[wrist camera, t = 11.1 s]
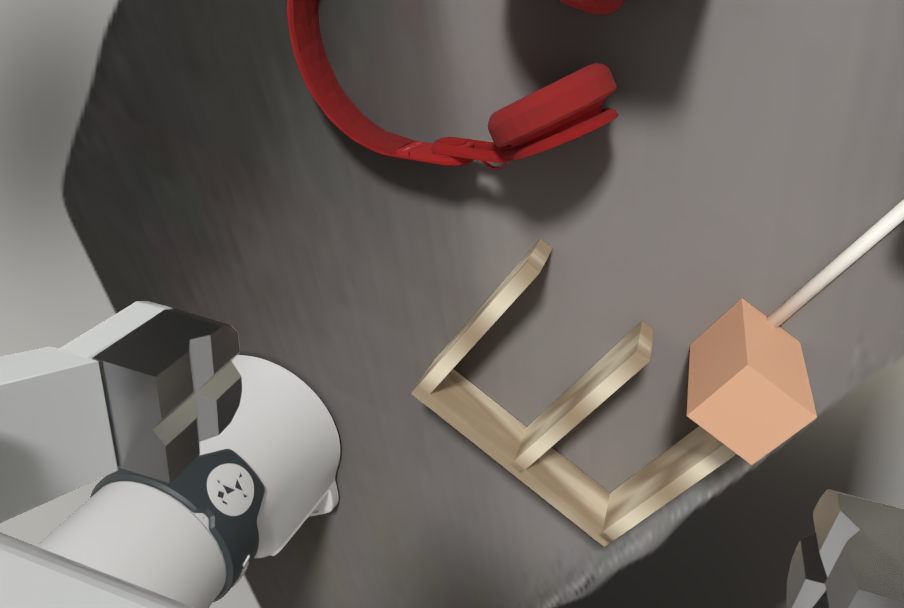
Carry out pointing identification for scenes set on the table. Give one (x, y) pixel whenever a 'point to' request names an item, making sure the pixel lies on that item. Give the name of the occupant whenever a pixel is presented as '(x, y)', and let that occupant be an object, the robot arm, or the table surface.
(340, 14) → the table surface
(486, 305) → the lane shelf
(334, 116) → the headphones
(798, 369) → the block
